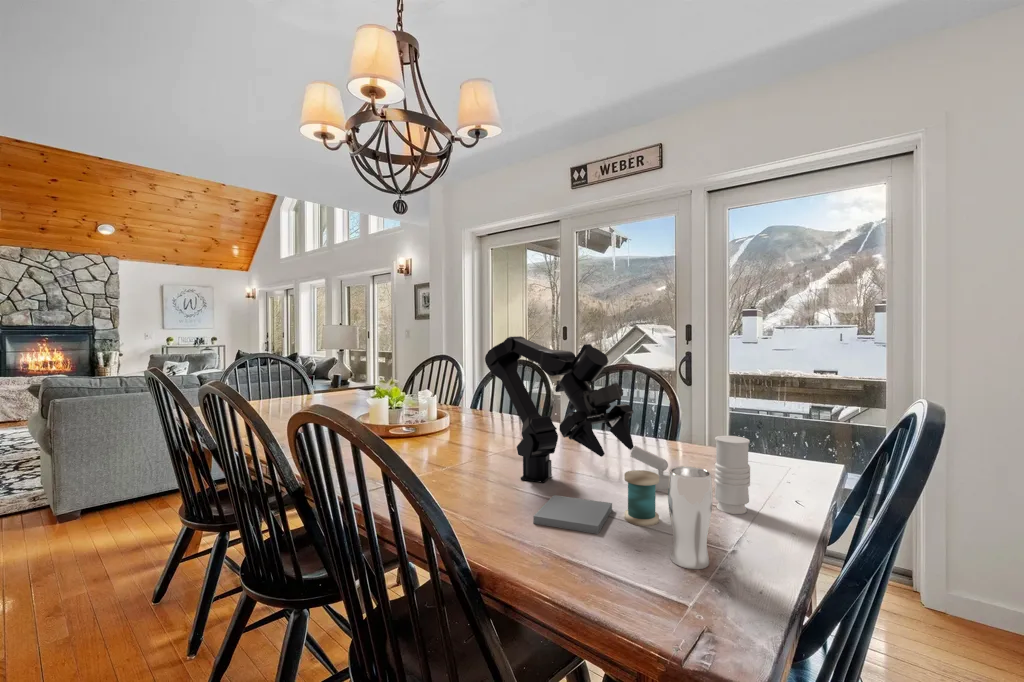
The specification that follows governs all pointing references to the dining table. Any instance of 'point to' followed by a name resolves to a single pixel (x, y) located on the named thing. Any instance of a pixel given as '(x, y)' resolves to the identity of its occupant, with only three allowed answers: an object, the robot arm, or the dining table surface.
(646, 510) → the cord spool
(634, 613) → the dining table surface
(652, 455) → the white spotlight lamp
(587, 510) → the slate board
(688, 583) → the dining table surface
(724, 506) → the white ribbed cylinder
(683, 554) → the metal tumbler
